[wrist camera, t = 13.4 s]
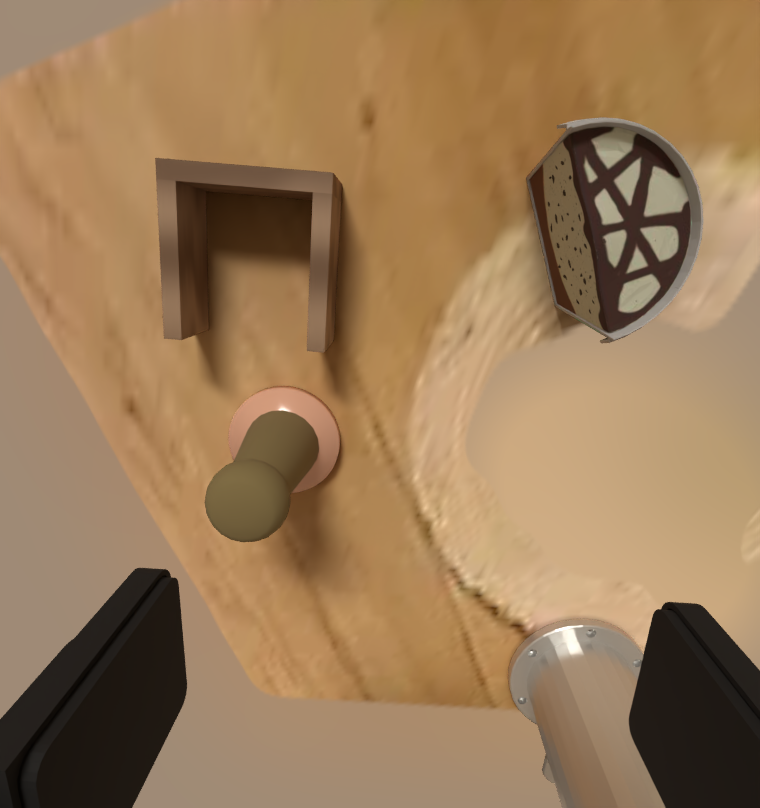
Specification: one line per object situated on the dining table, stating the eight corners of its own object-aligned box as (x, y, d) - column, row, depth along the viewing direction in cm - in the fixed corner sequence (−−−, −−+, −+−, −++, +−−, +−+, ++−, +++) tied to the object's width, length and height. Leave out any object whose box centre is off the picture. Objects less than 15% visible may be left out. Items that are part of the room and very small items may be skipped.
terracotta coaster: (337, 492, 42) (335, 497, 41) (232, 482, 42) (229, 488, 41) (343, 391, 39) (342, 394, 38) (232, 381, 39) (228, 384, 38)
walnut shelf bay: (333, 340, 38) (324, 352, 33) (193, 328, 38) (164, 338, 33) (342, 184, 35) (333, 172, 30) (188, 171, 35) (155, 157, 30)
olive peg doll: (327, 471, 40) (302, 549, 29) (257, 485, 41) (208, 565, 30) (308, 403, 38) (273, 458, 28) (235, 418, 39) (175, 478, 28)
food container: (641, 300, 36) (729, 315, 27) (559, 325, 37) (615, 349, 27) (610, 123, 33) (697, 68, 23) (521, 155, 34) (569, 114, 24)
